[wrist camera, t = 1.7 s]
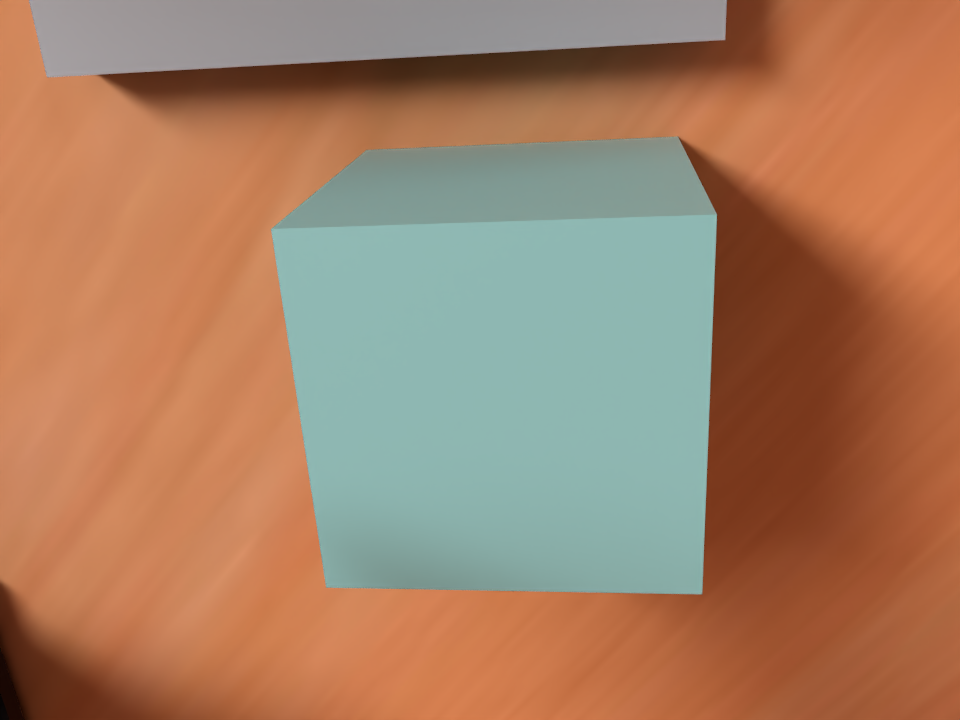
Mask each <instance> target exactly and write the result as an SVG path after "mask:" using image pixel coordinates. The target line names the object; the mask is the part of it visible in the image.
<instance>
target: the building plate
mask: <svg viewBox="0 0 960 720" xmlns="http://www.w3.org/2000/svg"><path fill="white" fill-rule="evenodd" d="M29 3H30V7H31V11H32V15H33V20H34V24H35V28H36V33H37V37H38V41H39V45H40V50H41V54H42V58H43V62H44V67H45V71H46V75H47V77H63V76H81V75H99V74H117V73H135V72H153V71H172V70H190V69H208V68H226V67H244V66H262V65H280V64H298V63H316V62H335V61H353V60H371V59H389V58H407V57H425V56H443V55H461V54H480V53H498V52H516V51H534V50H552V49H570V48H588V47H606V46H624V45H643V44H661V43H679V42H697V41H715V40H725V33H726V8H727V0H29Z"/></svg>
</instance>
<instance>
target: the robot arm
mask: <svg viewBox="0 0 960 720" xmlns="http://www.w3.org/2000/svg"><path fill="white" fill-rule="evenodd" d="M0 720H24V718H23V715H22V712H21V709H20V705H19V702H18V699H17V696H16V693H15V690H14V687H13V684H12V681H11V678H10V675H9V672H8V669H7V666H6V663H5V660H4V657H3V654H2V651H1V648H0Z"/></svg>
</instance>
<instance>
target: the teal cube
mask: <svg viewBox="0 0 960 720" xmlns="http://www.w3.org/2000/svg"><path fill="white" fill-rule="evenodd" d="M716 226H717V214H716V212H715V210H714V208H713V206H712V204H711V202H710V200H709V198H708V196H707V194H706V192H705V190H704V188H703V186H702V184H701V182H700V180H699V178H698V176H697V174H696V172H695V170H694V168H693V166H692V164H691V162H690V160H689V158H688V156H687V154H686V152H685V150H684V148H683V146H682V144H681V142H680V140H679V138H678V137H656V138H633V139H610V140H587V141H563V142H540V143H517V144H494V145H471V146H447V147H424V148H401V149H378V150H366V151H365V152H364V153H362V154H361V155H360V156H359V157H358V158H356V159H355V160H354V161H353V162H352V163H350V164H349V165H348V166H347V167H346V168H344V169H343V170H342V171H341V172H340V173H338V174H337V175H336V176H335V177H333V178H332V179H331V180H330V181H329V182H327V183H326V184H325V185H324V186H323V187H321V188H320V189H319V190H318V191H317V192H315V193H314V194H313V195H312V196H310V197H309V198H308V199H307V200H306V201H304V202H303V203H302V204H301V205H300V206H298V207H297V208H296V209H295V210H294V211H292V212H291V213H290V214H289V215H288V216H286V217H285V218H284V219H283V220H281V221H280V222H279V223H278V224H277V225H275V226H274V227H273V228H272V229H271V231H272V238H273V244H274V251H275V258H276V264H277V271H278V277H279V284H280V290H281V297H282V303H283V310H284V316H285V323H286V329H287V336H288V342H289V349H290V355H291V362H292V368H293V375H294V381H295V388H296V394H297V401H298V407H299V414H300V420H301V427H302V433H303V440H304V446H305V453H306V459H307V466H308V472H309V479H310V485H311V492H312V498H313V505H314V511H315V518H316V524H317V531H318V537H319V544H320V550H321V557H322V563H323V570H324V576H325V583H326V588H381V589H436V590H491V591H546V592H601V593H656V594H702V587H703V561H704V535H705V510H706V484H707V458H708V432H709V407H710V381H711V355H712V329H713V303H714V278H715V252H716Z"/></svg>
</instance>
